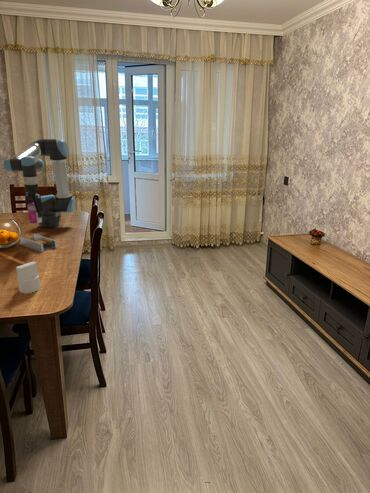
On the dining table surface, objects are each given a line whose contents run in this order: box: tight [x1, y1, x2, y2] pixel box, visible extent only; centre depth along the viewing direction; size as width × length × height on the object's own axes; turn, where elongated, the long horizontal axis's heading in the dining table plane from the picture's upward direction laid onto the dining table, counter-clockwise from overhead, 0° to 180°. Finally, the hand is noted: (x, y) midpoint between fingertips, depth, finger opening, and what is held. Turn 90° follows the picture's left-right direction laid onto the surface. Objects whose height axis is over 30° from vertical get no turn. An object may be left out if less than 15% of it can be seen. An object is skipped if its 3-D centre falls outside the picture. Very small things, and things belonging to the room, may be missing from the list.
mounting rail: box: [19, 233, 59, 253], centre depth 213 cm, size 24×12×6 cm, turn 53°
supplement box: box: [26, 202, 38, 224], centre depth 207 cm, size 6×6×12 cm
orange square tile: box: [35, 240, 47, 244], centre depth 213 cm, size 7×7×1 cm
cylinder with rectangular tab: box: [15, 261, 41, 294], centre depth 157 cm, size 9×9×12 cm
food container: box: [56, 212, 62, 221], centre depth 285 cm, size 12×6×10 cm, turn 71°
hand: (35, 221), depth 209 cm, fingers closed on supplement box, 8 cm apart
